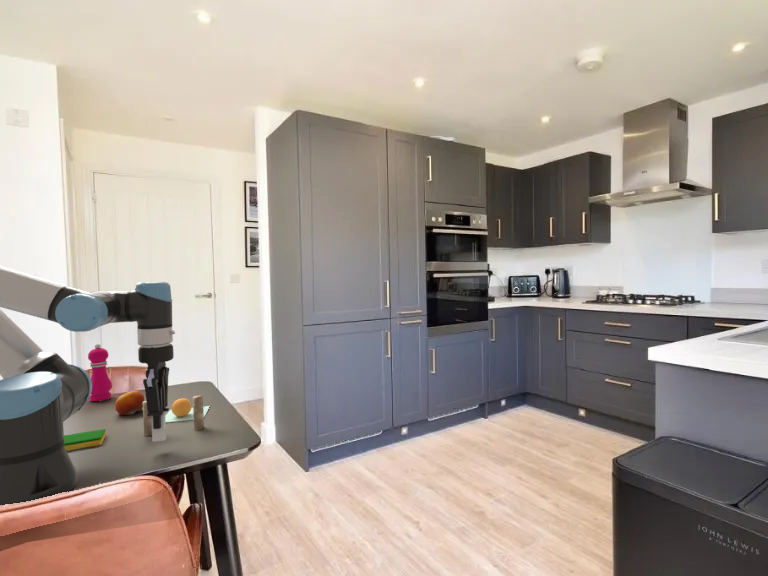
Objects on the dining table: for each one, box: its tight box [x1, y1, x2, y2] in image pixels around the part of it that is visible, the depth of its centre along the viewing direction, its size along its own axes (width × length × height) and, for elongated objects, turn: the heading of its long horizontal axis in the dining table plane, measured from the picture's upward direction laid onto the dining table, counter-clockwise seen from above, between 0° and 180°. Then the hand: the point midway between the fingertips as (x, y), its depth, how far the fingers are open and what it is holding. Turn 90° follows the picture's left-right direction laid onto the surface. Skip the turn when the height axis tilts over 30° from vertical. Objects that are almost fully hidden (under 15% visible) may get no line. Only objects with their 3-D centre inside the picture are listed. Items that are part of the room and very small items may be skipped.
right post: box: [192, 394, 205, 431], centre depth 115 cm, size 3×3×9 cm
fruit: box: [114, 390, 145, 416], centre depth 131 cm, size 8×8×8 cm
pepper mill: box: [87, 343, 113, 402], centre depth 146 cm, size 7×7×20 cm
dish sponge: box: [64, 428, 107, 452], centre depth 106 cm, size 7×14×2 cm, turn 116°
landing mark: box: [165, 405, 211, 424], centre depth 128 cm, size 12×12×1 cm
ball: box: [171, 397, 193, 417], centre depth 126 cm, size 6×6×6 cm
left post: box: [142, 400, 152, 437], centre depth 112 cm, size 3×3×9 cm
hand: (159, 439), depth 101 cm, fingers closed
